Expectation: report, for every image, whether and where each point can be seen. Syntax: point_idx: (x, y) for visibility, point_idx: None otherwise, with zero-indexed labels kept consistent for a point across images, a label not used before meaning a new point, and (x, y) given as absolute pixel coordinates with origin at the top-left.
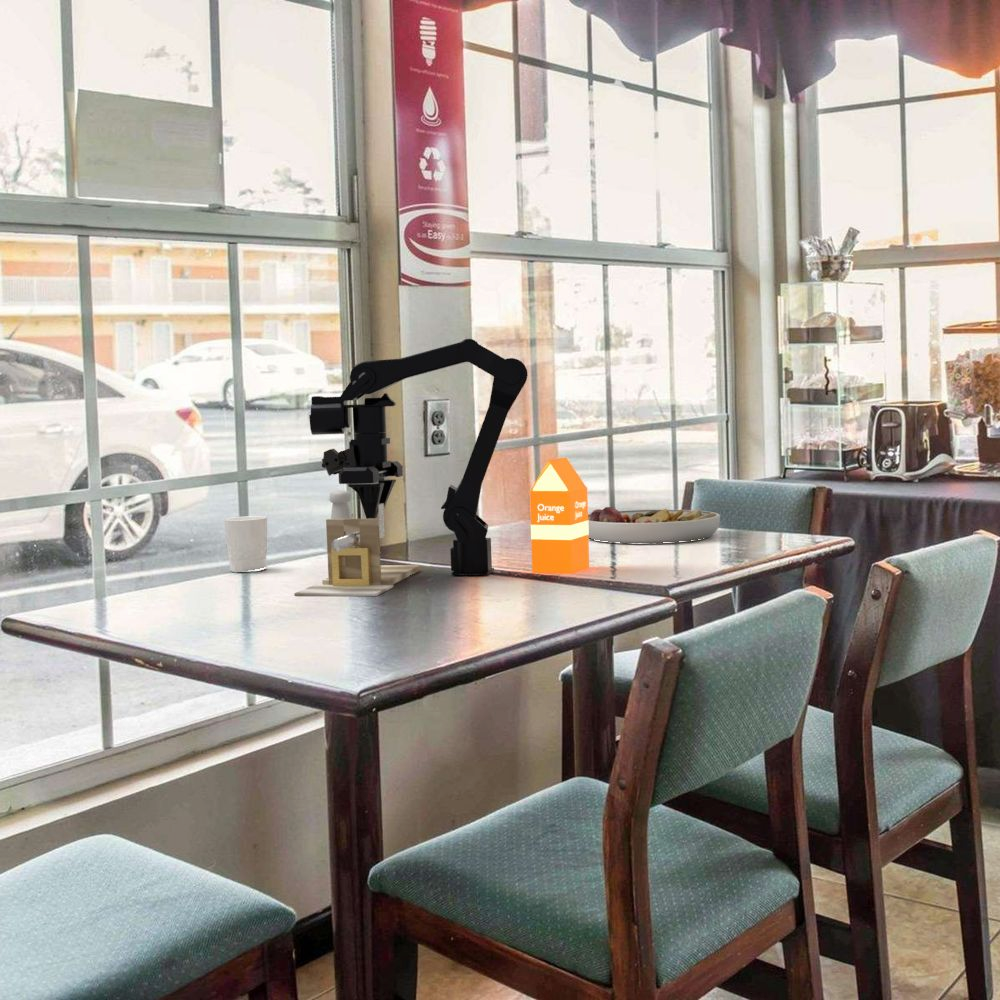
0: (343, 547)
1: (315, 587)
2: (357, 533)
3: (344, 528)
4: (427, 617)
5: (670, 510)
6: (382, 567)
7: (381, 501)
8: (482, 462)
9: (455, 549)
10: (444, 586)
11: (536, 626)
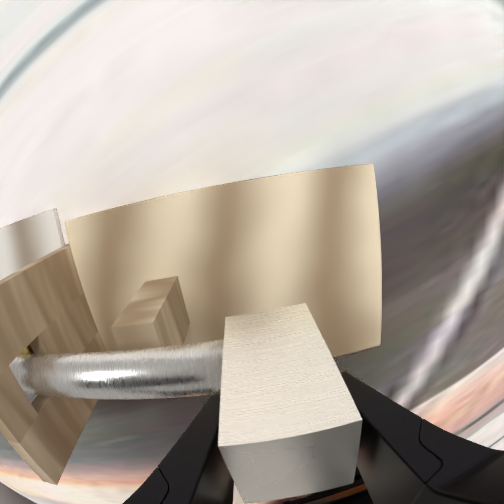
0: None
1: (26, 238)
2: (41, 393)
3: None
4: (3, 447)
5: None
6: (339, 268)
7: (370, 478)
8: None
9: None
10: (165, 452)
11: (38, 499)
